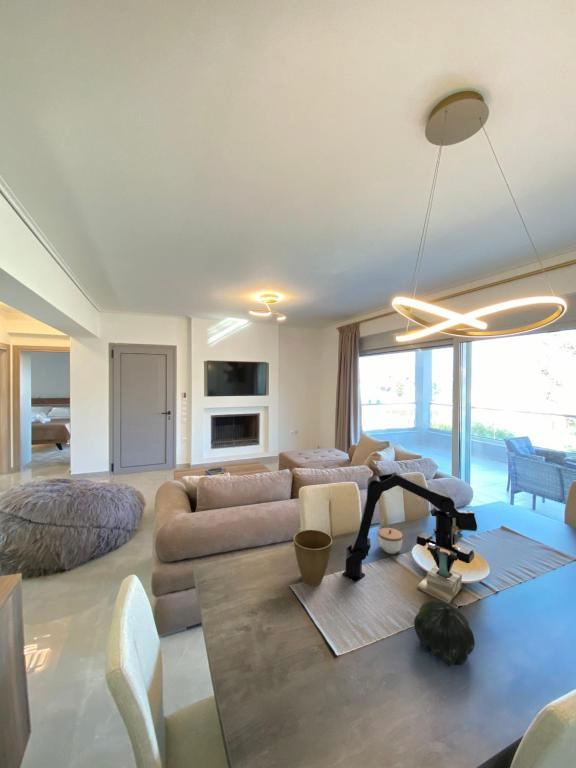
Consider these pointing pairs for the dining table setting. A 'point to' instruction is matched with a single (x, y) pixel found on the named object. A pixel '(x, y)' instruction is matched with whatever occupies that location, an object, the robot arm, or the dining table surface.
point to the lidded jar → (390, 540)
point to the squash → (444, 632)
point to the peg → (443, 564)
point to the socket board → (435, 591)
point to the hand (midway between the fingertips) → (443, 569)
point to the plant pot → (312, 554)
